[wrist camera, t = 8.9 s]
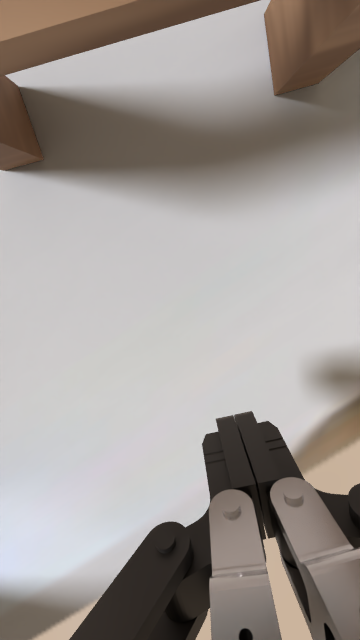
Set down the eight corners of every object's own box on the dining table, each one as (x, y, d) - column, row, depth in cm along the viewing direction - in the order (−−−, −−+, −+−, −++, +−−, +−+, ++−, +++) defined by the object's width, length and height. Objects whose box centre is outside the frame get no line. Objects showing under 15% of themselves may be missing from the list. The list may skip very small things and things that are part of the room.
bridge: (318, 83, 15) (571, -130, 5) (3, 170, 15) (-244, 114, 6) (310, 1, 14) (605, -431, 4) (-25, 98, 14) (-369, -97, 5)
